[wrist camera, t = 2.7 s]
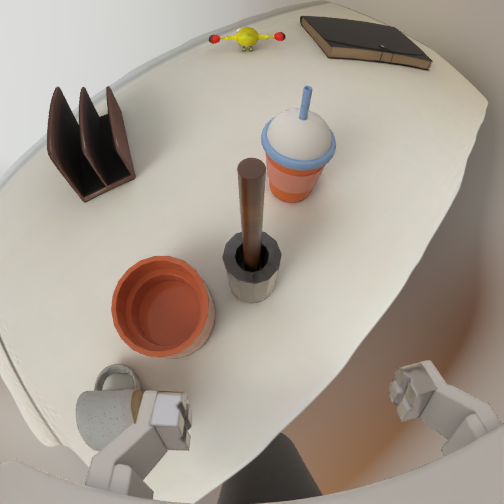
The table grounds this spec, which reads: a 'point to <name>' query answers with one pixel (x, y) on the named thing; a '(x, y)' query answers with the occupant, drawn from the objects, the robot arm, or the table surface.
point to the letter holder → (89, 145)
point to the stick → (251, 209)
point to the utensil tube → (252, 283)
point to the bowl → (163, 308)
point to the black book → (364, 41)
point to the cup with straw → (296, 150)
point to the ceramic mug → (107, 409)
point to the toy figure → (247, 37)
